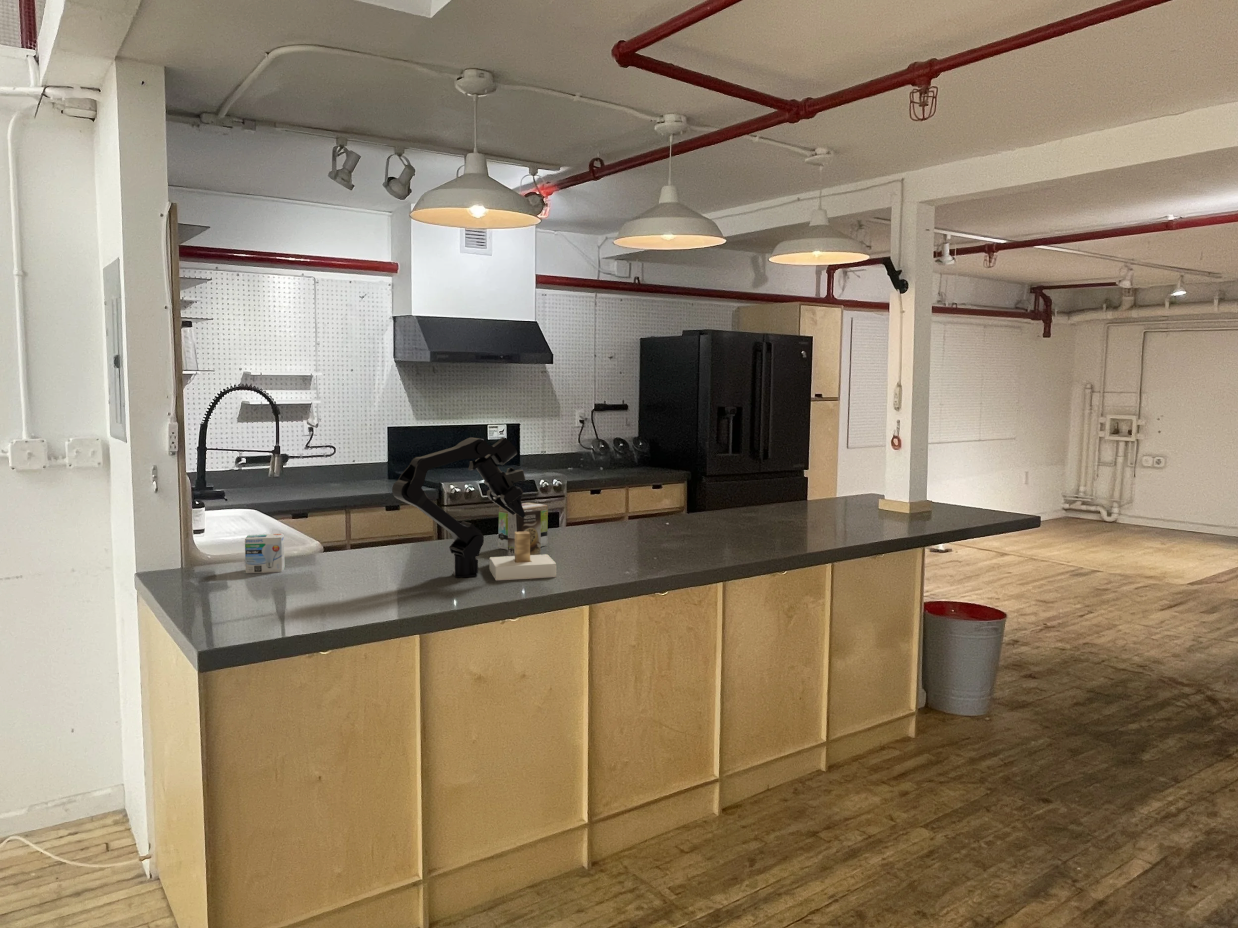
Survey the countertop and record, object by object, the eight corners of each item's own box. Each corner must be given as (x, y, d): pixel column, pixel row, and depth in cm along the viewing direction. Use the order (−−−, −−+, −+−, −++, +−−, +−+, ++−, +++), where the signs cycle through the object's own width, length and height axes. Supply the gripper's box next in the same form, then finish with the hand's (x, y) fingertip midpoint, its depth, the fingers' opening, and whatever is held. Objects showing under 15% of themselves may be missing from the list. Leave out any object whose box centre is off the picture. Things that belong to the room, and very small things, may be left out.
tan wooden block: (516, 575, 266) (516, 534, 264) (514, 572, 270) (514, 531, 268) (530, 574, 267) (530, 533, 265) (527, 571, 271) (527, 531, 269)
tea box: (518, 552, 299) (518, 509, 298) (497, 548, 305) (497, 506, 304) (548, 545, 311) (548, 504, 310) (527, 542, 317) (527, 501, 316)
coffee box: (518, 562, 283) (517, 512, 281) (507, 559, 288) (506, 510, 286) (541, 559, 289) (541, 510, 287) (530, 555, 294) (530, 507, 292)
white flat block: (495, 580, 259) (495, 566, 259) (489, 569, 272) (489, 557, 272) (556, 576, 264) (556, 563, 263) (547, 566, 277) (547, 554, 277)
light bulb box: (245, 574, 265) (243, 538, 264) (248, 569, 272) (246, 534, 271) (283, 572, 268) (282, 536, 267) (285, 567, 275) (284, 532, 273)
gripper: (522, 460, 262) (550, 502, 266) (503, 457, 279) (529, 497, 283) (492, 481, 258) (520, 524, 263) (474, 478, 275) (502, 518, 279)
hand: (519, 515), depth 272 cm, fingers open, 9 cm apart
